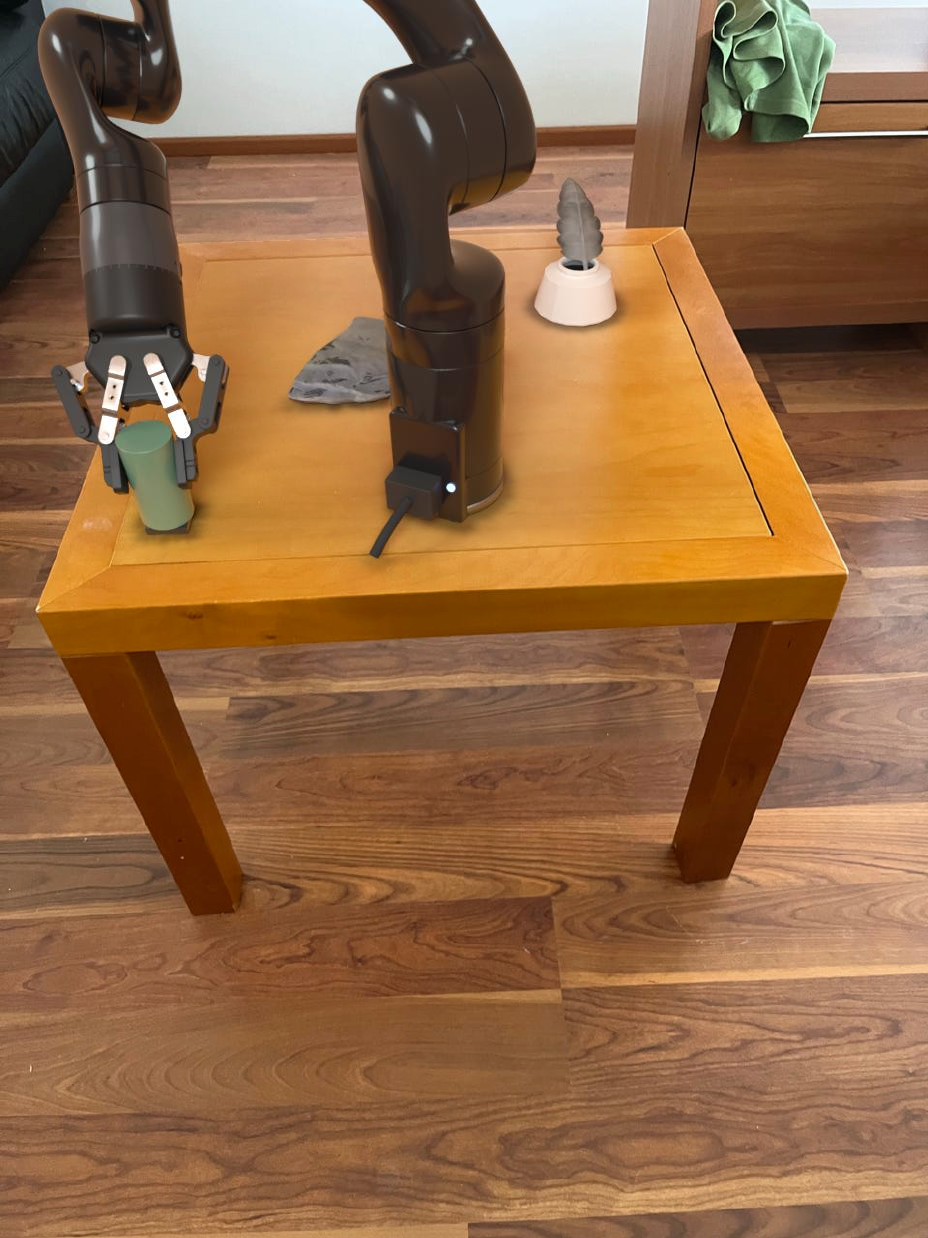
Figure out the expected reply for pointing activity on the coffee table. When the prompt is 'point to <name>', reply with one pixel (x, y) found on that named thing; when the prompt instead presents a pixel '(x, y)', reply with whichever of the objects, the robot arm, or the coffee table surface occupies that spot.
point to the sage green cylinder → (154, 474)
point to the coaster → (179, 530)
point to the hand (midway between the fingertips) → (153, 489)
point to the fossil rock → (347, 367)
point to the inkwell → (576, 266)
